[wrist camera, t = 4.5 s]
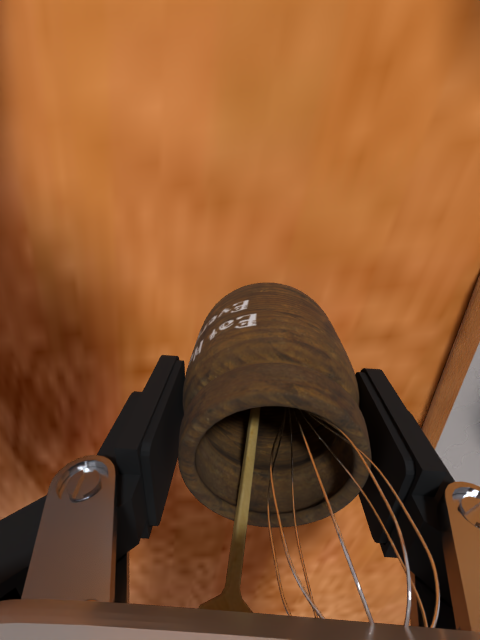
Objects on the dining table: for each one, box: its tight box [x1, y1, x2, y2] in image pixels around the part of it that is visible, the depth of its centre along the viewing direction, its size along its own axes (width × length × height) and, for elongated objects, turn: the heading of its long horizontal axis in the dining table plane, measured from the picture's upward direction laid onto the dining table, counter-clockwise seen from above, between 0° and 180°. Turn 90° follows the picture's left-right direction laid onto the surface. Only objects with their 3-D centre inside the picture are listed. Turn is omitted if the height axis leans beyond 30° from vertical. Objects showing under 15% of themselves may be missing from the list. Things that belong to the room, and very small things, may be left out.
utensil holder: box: [178, 283, 440, 628], centre depth 9 cm, size 6×6×12 cm
